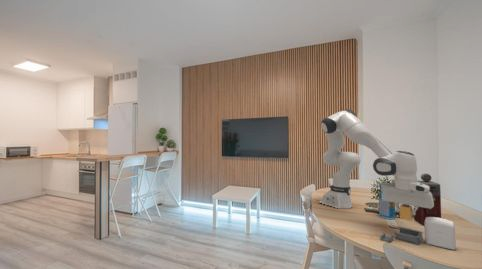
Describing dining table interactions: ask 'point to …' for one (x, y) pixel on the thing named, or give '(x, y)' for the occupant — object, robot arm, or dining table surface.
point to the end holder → (409, 235)
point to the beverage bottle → (386, 208)
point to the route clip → (386, 238)
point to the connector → (405, 212)
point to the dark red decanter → (436, 193)
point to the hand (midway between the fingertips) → (406, 213)
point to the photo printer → (440, 232)
